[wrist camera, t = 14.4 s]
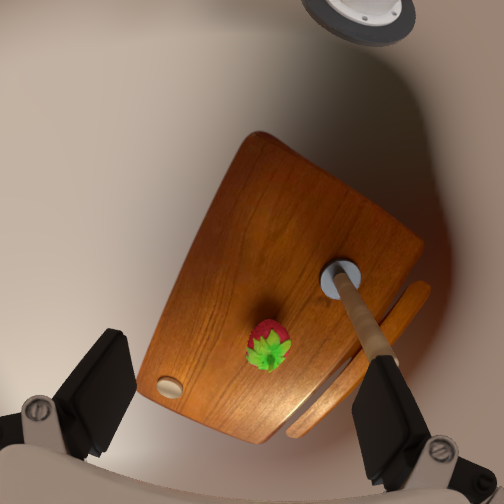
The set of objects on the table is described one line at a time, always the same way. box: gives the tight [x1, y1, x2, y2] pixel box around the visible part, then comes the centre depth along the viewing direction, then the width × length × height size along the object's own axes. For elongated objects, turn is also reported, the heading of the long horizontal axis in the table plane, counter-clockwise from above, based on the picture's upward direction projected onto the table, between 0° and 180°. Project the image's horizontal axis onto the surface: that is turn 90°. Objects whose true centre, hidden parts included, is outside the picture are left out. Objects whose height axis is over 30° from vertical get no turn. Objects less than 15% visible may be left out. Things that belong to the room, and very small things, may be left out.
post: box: [319, 258, 399, 366], centre depth 31 cm, size 6×6×20 cm
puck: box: [157, 377, 183, 399], centre depth 49 cm, size 5×5×1 cm
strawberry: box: [245, 319, 291, 372], centre depth 39 cm, size 6×7×10 cm
